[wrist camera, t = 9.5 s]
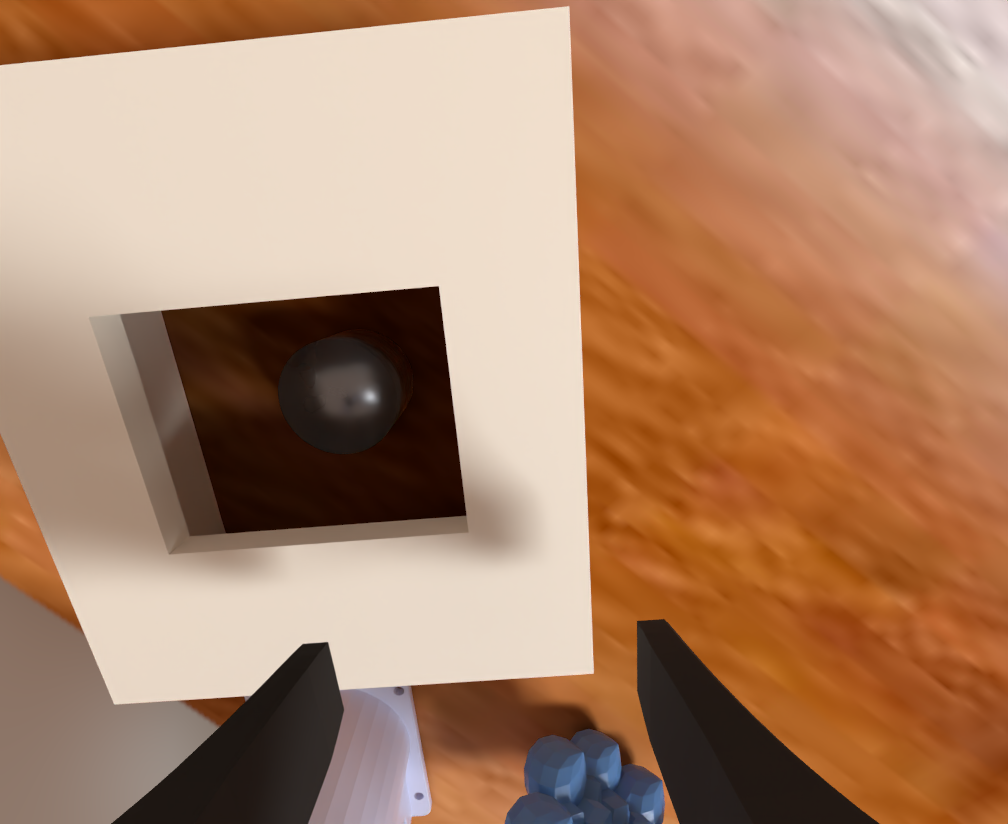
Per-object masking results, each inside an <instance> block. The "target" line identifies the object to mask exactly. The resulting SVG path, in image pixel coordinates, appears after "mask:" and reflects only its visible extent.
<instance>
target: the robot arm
mask: <svg viewBox="0 0 1008 824" xmlns="http://www.w3.org/2000/svg"><path fill="white" fill-rule="evenodd" d="M398 687H401V688H398ZM637 691H638V695H639V700H640V704H641V708H642V712H643V716H644V720H645V724H646V727H647V731H648V735H649V739H650V742H651V745H652V748H653V751H654V754H655V756H656V759H657V762H658V765H659V768H660V770H661V773H662V776H663V779H664V782H665V784H666V787H667V790H668V793H669V795H670V798H671V801H672V804H673V807H674V809H675V812H676V815H677V818H678V820H679V823H680V824H879V823H878V822H877V821H875V820H874V819H873V818H871V817H870V816H869V815H867V814H866V813H865V812H863V811H862V810H861V809H859V808H858V807H857V806H856V805H854V804H853V803H852V802H851V801H849V800H848V799H847V798H846V797H844V796H843V795H842V794H841V793H839V792H838V791H837V790H836V789H835V788H833V787H832V786H831V785H830V784H828V783H827V782H826V781H825V780H824V779H823V778H821V777H820V776H819V775H818V774H817V773H816V772H814V771H813V770H812V769H811V768H810V767H808V766H807V765H806V764H805V763H804V762H803V761H802V760H800V759H799V758H798V757H797V756H796V755H795V754H794V753H793V752H791V751H790V750H789V749H788V748H787V747H786V746H785V745H784V744H783V743H782V742H781V741H779V740H778V739H777V738H776V737H775V736H774V735H773V734H772V733H771V732H770V731H769V730H768V729H767V728H766V727H765V726H764V725H763V724H761V723H760V722H759V721H758V720H757V719H756V718H755V717H754V716H753V715H752V714H751V713H750V712H749V711H748V710H747V709H746V708H745V707H744V706H743V705H742V704H741V703H740V702H739V701H738V700H737V699H736V698H735V697H734V696H733V695H732V694H731V692H730V691H729V690H728V689H727V688H726V687H725V686H724V685H723V684H722V683H721V682H720V681H719V680H718V679H717V678H716V677H715V676H714V675H713V674H712V672H711V671H710V670H709V669H708V668H707V667H706V666H705V665H704V664H703V663H702V661H701V660H700V659H699V658H698V657H697V656H696V655H695V654H694V652H693V651H692V650H691V649H690V648H689V647H688V646H687V644H686V643H685V642H684V641H683V640H682V639H681V637H680V636H679V635H678V634H677V633H676V632H675V630H674V629H673V628H672V627H671V626H670V624H669V623H668V622H666V621H665V620H664V619H661V620H647V621H637ZM244 698H245V701H246V702H245V703H244V704H243V705H242V706H241V707H240V708H239V709H238V710H237V711H236V712H235V713H234V714H233V715H232V716H231V717H230V718H229V719H228V720H227V721H226V722H225V723H224V724H223V725H222V726H221V727H220V728H218V729H217V730H216V731H215V732H214V733H213V734H212V735H211V736H210V737H209V738H208V739H207V740H206V741H205V742H204V743H202V744H201V746H199V747H198V748H197V749H196V750H195V751H194V752H193V753H192V754H191V755H190V756H189V757H188V758H187V759H185V760H184V761H183V762H182V763H181V764H180V765H179V766H178V767H177V768H176V769H175V770H174V771H173V772H171V773H170V774H169V775H168V776H167V777H166V778H165V779H164V780H162V781H161V782H160V783H159V784H158V785H157V786H155V787H154V788H153V789H152V790H151V791H150V792H149V793H147V794H146V795H145V796H144V797H143V798H142V799H140V800H139V801H138V802H137V803H136V804H134V805H133V806H132V807H131V808H130V809H128V810H127V811H126V812H125V813H124V814H122V815H121V816H120V817H119V818H117V819H116V820H115V821H114V822H113V823H111V824H411V818H412V816H424V815H427V814H429V813H430V811H431V805H432V800H431V795H430V789H429V784H428V778H427V773H426V767H425V762H424V756H423V750H422V745H421V739H420V734H419V728H418V723H417V717H416V712H415V706H414V701H413V695H412V690H411V685H410V686H394V687H379V688H363V689H348V690H339V685H338V681H337V677H336V673H335V669H334V664H333V660H332V656H331V652H330V648H329V643H328V642H321V643H307V644H302V645H301V646H300V647H299V648H298V649H297V650H296V651H295V652H294V653H293V654H292V655H291V656H290V657H289V658H288V659H287V660H286V661H285V662H284V663H283V664H282V665H281V666H280V667H279V668H278V669H277V670H276V671H275V672H274V673H273V674H272V675H271V676H270V677H269V678H268V679H267V680H266V681H265V682H264V683H263V684H262V686H261V687H260V688H259V689H258V690H257V691H256V692H255V693H254V694H253V695H252V696H244Z"/></svg>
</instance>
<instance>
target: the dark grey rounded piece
mask: <svg viewBox="0 0 1008 824" xmlns="http://www.w3.org/2000/svg"><path fill="white" fill-rule="evenodd" d="M413 385H414V381H413V373H412V369H411V366H410V363H409V361H408V359H407V357H406V355H405V354H404V352H403V351H402V350H401V349H400V347H399V346H398V345H397V344H395V343H394V342H393V341H392V340H390V339H389V338H388V337H386V336H384V335H382V334H380V333H377V332H374V331H371V330H365V329H353V330H347V331H344V332H341V333H338V334H335V335H332V336H330V337H327V338H324V339H321V340H318V341H316V342H313V343H311V344H308V345H306V346H304V347H302V348H301V349H299V350H298V351H297V352H296V353H294V354H293V355H292V356H291V358H290V359H289V360H288V361H287V363H286V364H285V366H284V368H283V370H282V372H281V376H280V379H279V385H278V397H279V403H280V407H281V410H282V413H283V415H284V417H285V419H286V421H287V423H288V424H289V426H290V427H291V428H292V430H293V431H294V432H295V433H296V434H297V435H298V436H299V437H300V438H302V439H303V440H304V441H305V442H307V443H308V444H310V445H311V446H313V447H315V448H317V449H320V450H323V451H326V452H330V453H335V454H352V453H357V452H361V451H364V450H367V449H369V448H371V447H372V446H374V445H376V444H377V443H378V442H380V441H381V440H382V439H383V438H384V437H385V436H386V434H387V433H388V431H389V430H390V429H391V427H392V426H393V425H394V423H395V422H396V421H397V419H398V418H399V417H400V415H401V414H402V412H403V411H404V410H405V408H406V407H407V405H408V403H409V402H410V399H411V396H412V392H413Z"/></svg>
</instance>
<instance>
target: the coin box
mask: <svg viewBox="0 0 1008 824" xmlns="http://www.w3.org/2000/svg"><path fill="white" fill-rule="evenodd" d="M434 286H439V292H440V300H441V308H442V316H443V325H444V333H445V341H446V350H447V358H448V366H449V374H450V383H451V391H452V399H453V407H454V416H455V424H456V432H457V441H458V449H459V457H460V465H461V474H462V482H463V490H464V499H465V507H466V515H467V516H457V517H443V518H430V519H416V520H403V521H390V522H376V523H363V524H349V525H336V526H322V527H309V528H296V529H282V530H269V531H255V532H242V533H229V534H226V532H225V529H224V526H223V522H222V519H221V515H220V512H219V508H218V505H217V501H216V498H215V495H214V491H213V488H212V484H211V481H210V477H209V474H208V471H207V467H206V464H205V460H204V457H203V453H202V450H201V447H200V443H199V440H198V436H197V433H196V429H195V426H194V423H193V419H192V416H191V412H190V409H189V405H188V402H187V399H186V395H185V392H184V388H183V385H182V381H181V378H180V374H179V371H178V368H177V364H176V361H175V357H174V354H173V350H172V347H171V344H170V340H169V337H168V333H167V330H166V326H165V323H164V320H163V316H162V313H161V310H173V309H184V308H195V307H207V306H218V305H229V304H241V303H252V302H263V301H275V300H286V299H297V298H309V297H320V296H332V295H343V294H354V293H366V292H377V291H388V290H400V289H411V288H422V287H434ZM0 434H1V436H2V439H3V441H4V443H5V446H6V448H7V451H8V453H9V455H10V458H11V460H12V462H13V465H14V467H15V470H16V472H17V474H18V477H19V479H20V481H21V484H22V486H23V489H24V491H25V493H26V496H27V498H28V500H29V503H30V505H31V508H32V510H33V512H34V515H35V517H36V520H37V522H38V524H39V527H40V529H41V531H42V534H43V536H44V539H45V541H46V543H47V546H48V548H49V550H50V553H51V555H52V558H53V560H54V562H55V565H56V567H57V570H58V572H59V574H60V577H61V579H62V581H63V584H64V586H65V589H66V591H67V593H68V596H69V598H70V600H71V603H72V605H73V608H74V610H75V612H76V615H77V617H78V620H79V622H80V624H81V627H82V629H83V631H84V634H85V636H86V639H87V641H88V643H89V646H90V648H91V650H92V653H93V655H94V658H95V660H96V662H97V665H98V667H99V669H100V672H101V674H102V677H103V679H104V681H105V684H106V686H107V689H108V691H109V693H110V696H111V698H112V700H113V703H114V705H117V704H132V703H147V702H161V701H162V702H163V701H178V700H194V699H209V698H225V697H240V696H252V695H253V694H254V693H255V692H256V691H257V690H258V689H259V688H260V687H261V686H262V684H263V683H264V682H265V681H266V680H267V679H268V678H269V677H270V676H271V675H272V674H273V673H274V672H275V671H276V670H277V669H278V668H279V667H280V666H281V665H282V664H283V663H284V662H285V661H286V660H287V659H288V658H289V657H290V656H291V655H292V654H293V653H294V652H295V651H296V650H297V649H298V648H299V647H300V646H301V645H302V644H307V643H321V642H328V643H329V648H330V652H331V656H332V660H333V664H334V669H335V673H336V677H337V681H338V685H339V690H348V689H363V688H379V687H394V686H410V685H425V684H441V683H456V682H471V681H487V680H502V679H518V678H533V677H549V676H564V675H579V674H594V668H593V641H592V613H591V586H590V559H589V532H588V505H587V478H586V450H585V423H584V396H583V369H582V342H581V314H580V287H579V260H578V233H577V206H576V178H575V151H574V124H573V97H572V70H571V42H570V15H569V6H568V7H559V8H549V9H539V10H530V11H520V12H510V13H501V14H491V15H481V16H472V17H462V18H452V19H443V20H433V21H424V22H414V23H404V24H395V25H385V26H375V27H366V28H356V29H346V30H337V31H327V32H317V33H308V34H298V35H288V36H279V37H269V38H260V39H250V40H240V41H231V42H221V43H211V44H202V45H192V46H182V47H173V48H163V49H153V50H144V51H134V52H124V53H115V54H105V55H96V56H86V57H76V58H67V59H57V60H47V61H38V62H28V63H18V64H9V65H0Z"/></svg>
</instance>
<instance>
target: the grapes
mask: <svg viewBox="0 0 1008 824" xmlns="http://www.w3.org/2000/svg"><path fill="white" fill-rule="evenodd" d="M524 777H525V787H526V790H527V793H528V795H525V796H522V797H520V798H519V799H518V800H517V802H516V803H515V804H514V805H513V807H512V808H511V809H510V810H509V812H508V813H507V816H506V820H505V824H662V822H663V818H664V808H665V801H664V791H663V784H662V780H661V779H660V778H658V777H657V776H656V775H655V774H653V773H652V772H650V771H649V770H647V769H646V768H644V767H641V766H638V765H634V764H631V763H630V764H627V765H624V766H621V758H620V750H619V745H618V743H616V742H615V741H614V740H613V739H611V738H610V737H608V736H607V735H605V734H604V733H602V732H599V731H595V730H591V729H586V730H583V731H579V732H576V734H575V735H574V736H573V738H572V739H571V740H570V741H569V740H568V739H567V738H563V737H559V736H556V735H550V736H546V737H542V738H539V739H538V740H537V741H536V743H535V744H534V745H533V746H532V747H531V749H530V750H529V752H528V755H527V759H526V763H525V767H524Z"/></svg>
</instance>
